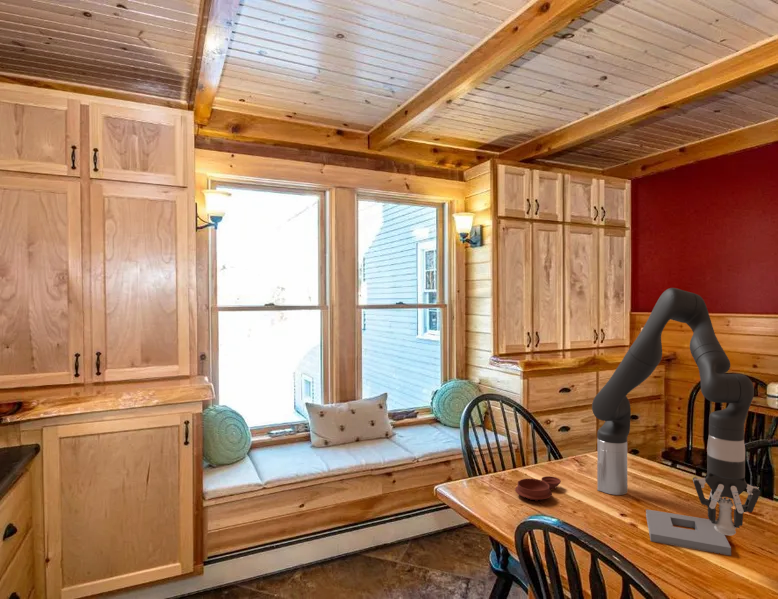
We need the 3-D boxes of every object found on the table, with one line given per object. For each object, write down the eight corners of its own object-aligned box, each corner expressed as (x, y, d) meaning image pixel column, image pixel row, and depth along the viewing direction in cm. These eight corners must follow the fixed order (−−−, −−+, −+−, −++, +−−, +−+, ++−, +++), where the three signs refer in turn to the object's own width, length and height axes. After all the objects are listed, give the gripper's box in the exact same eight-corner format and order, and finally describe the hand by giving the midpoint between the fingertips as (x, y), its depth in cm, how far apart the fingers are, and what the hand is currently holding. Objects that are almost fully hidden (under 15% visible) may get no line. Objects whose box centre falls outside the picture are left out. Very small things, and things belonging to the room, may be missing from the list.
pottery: (508, 497, 157) (507, 483, 157) (541, 481, 170) (540, 469, 170) (539, 508, 148) (539, 494, 148) (571, 491, 162) (571, 478, 161)
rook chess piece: (709, 527, 118) (709, 495, 118) (726, 526, 119) (726, 494, 118) (723, 536, 114) (723, 503, 114) (741, 535, 114) (741, 503, 114)
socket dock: (650, 541, 128) (650, 533, 128) (646, 515, 143) (646, 509, 143) (731, 555, 121) (731, 547, 121) (717, 527, 135) (717, 520, 135)
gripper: (694, 455, 115) (693, 525, 116) (766, 464, 109) (765, 538, 110) (689, 446, 122) (688, 512, 123) (757, 454, 116) (756, 523, 117)
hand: (724, 524), depth 116 cm, fingers closed on rook chess piece, 4 cm apart
